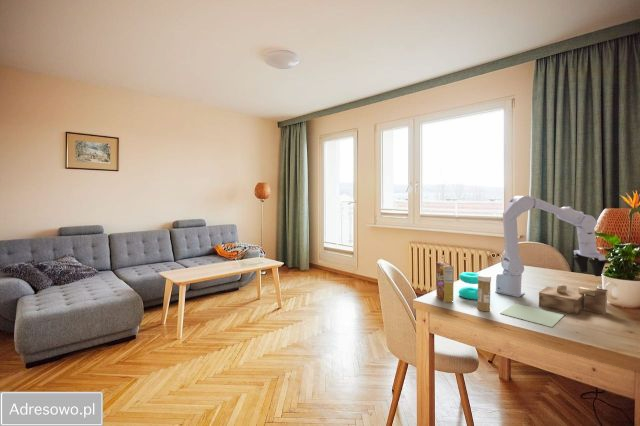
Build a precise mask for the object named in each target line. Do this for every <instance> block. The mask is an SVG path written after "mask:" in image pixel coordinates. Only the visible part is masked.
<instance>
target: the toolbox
mask: <svg viewBox="0 0 640 426" xmlns="http://www.w3.org/2000/svg"><path fill="white" fill-rule="evenodd" d="M538 296H539V297H538V307H539V308H544V309H548V310H552V311H557V312H561V313H566V314H570V315H574V316H578V315H579V314H580V313H581V312H582V311H583V310H584V297H585V295H584V297H583V298H582V299H581V300H580V301H579V302H578V303H574V302H569V301H564V300H559V299H555V298H550V297H545V296H540V295H539V294H538Z"/></svg>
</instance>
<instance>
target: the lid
mask: <svg viewBox="0 0 640 426" xmlns="http://www.w3.org/2000/svg"><path fill="white" fill-rule="evenodd" d="M567 287H568V286H567V285H566V284H561V283H560V284H559V283H558V284H556V287H552V286H546V287H545V288H543V289H541V290H540V291H539V292H538V296H539V295H540V296H545V297H550V298H555V299H559V300H564V301H569V302H574V303H578V302H579V301H580V300H581V299H582V298H583V297H584V296H585V294H581V293H578V292H579V291H575V290H574V291H573V290H569V289H567Z"/></svg>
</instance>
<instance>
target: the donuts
mask: <svg viewBox="0 0 640 426" xmlns="http://www.w3.org/2000/svg"><path fill="white" fill-rule="evenodd" d="M479 274H480V273H478V272H473V271H471V272H470V271H464V272H461V273H459V275H458V277H459V280H460V281H461V282H463V283H465V284H469V285H478V275H479ZM458 295H459V296H460V297H462V298H464V299H468V300H473V299H474V300H477V301H478V287H473V286H463V287H461V288H459V290H458Z"/></svg>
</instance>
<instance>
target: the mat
mask: <svg viewBox="0 0 640 426" xmlns="http://www.w3.org/2000/svg"><path fill="white" fill-rule="evenodd" d="M499 314H500V315H502V314H504V315H503V316H506V315H507V316H508V317H510V316H511V318H514V317H515V318H514V319H518V318H519V319H518V320H521V319H523V320H522V321H525V320H526V322H529V321H530V322H529V323H533V322H534V323H533V324H537V325H540V324H541V325H540V326H544V327H549V328H553V327H554V326H556V325H557V323H558V322H560V320H562V318H564V317H565V314H562V313H558V312H553V311H549V310H545V309H542V308H536V307H533V306H532V307H531V306H528V305H524V304H520V303H514V304H512V305H511V306H509V307H508V308H506V309H504V310H503V311H502V312H500V313H499ZM507 316H506V317H507Z"/></svg>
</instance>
